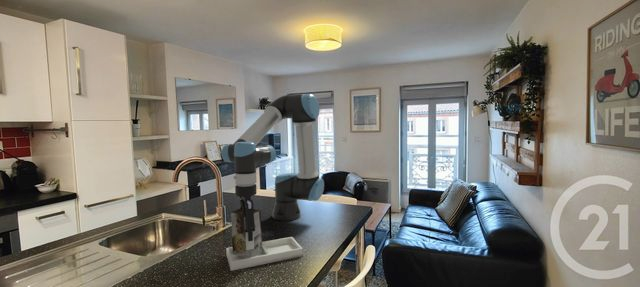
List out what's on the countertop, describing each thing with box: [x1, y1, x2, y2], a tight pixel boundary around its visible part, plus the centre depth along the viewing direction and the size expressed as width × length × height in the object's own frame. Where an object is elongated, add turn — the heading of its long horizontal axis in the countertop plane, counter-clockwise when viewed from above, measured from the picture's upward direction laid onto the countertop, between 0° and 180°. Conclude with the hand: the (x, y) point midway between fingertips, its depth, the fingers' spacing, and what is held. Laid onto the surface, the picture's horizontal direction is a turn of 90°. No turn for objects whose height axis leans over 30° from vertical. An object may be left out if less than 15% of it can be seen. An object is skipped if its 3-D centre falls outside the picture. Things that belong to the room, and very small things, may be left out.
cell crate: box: [225, 236, 304, 272], centre depth 111 cm, size 13×26×3 cm, turn 114°
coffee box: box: [230, 207, 263, 258], centre depth 108 cm, size 9×6×16 cm
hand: (247, 243), depth 109 cm, fingers closed on coffee box, 10 cm apart
